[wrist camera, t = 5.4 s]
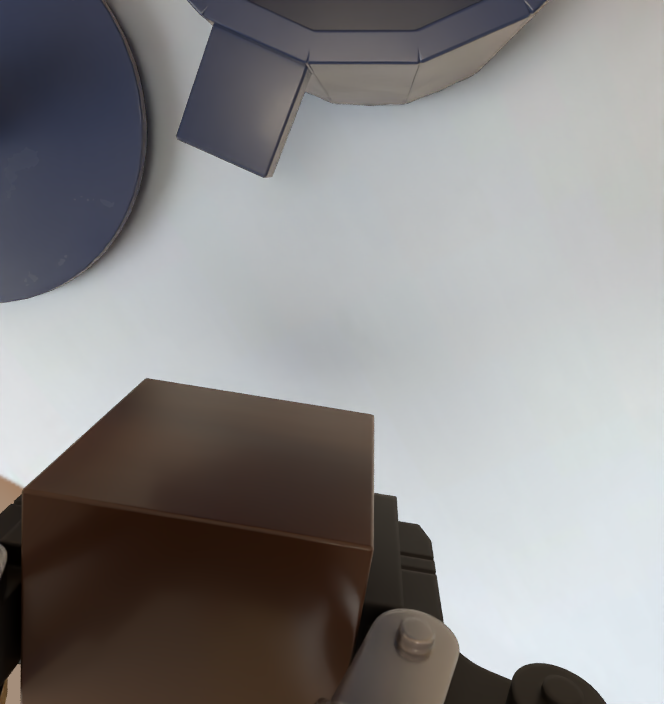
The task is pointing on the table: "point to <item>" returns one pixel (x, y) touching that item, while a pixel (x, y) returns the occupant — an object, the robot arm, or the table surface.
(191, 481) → the block
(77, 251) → the lid
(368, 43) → the pot
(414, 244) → the table surface
